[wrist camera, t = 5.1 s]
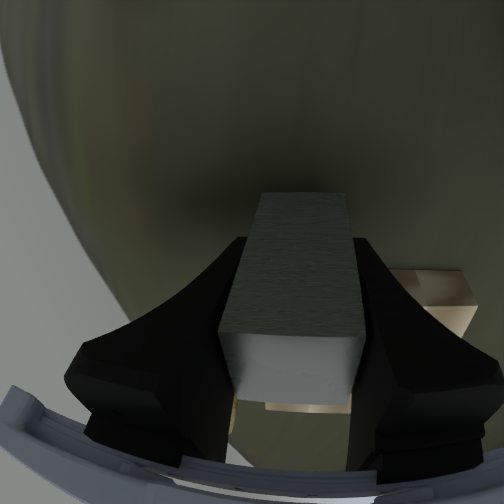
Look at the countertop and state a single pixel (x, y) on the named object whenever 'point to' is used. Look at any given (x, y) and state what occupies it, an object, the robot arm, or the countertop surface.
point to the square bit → (295, 303)
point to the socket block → (431, 299)
